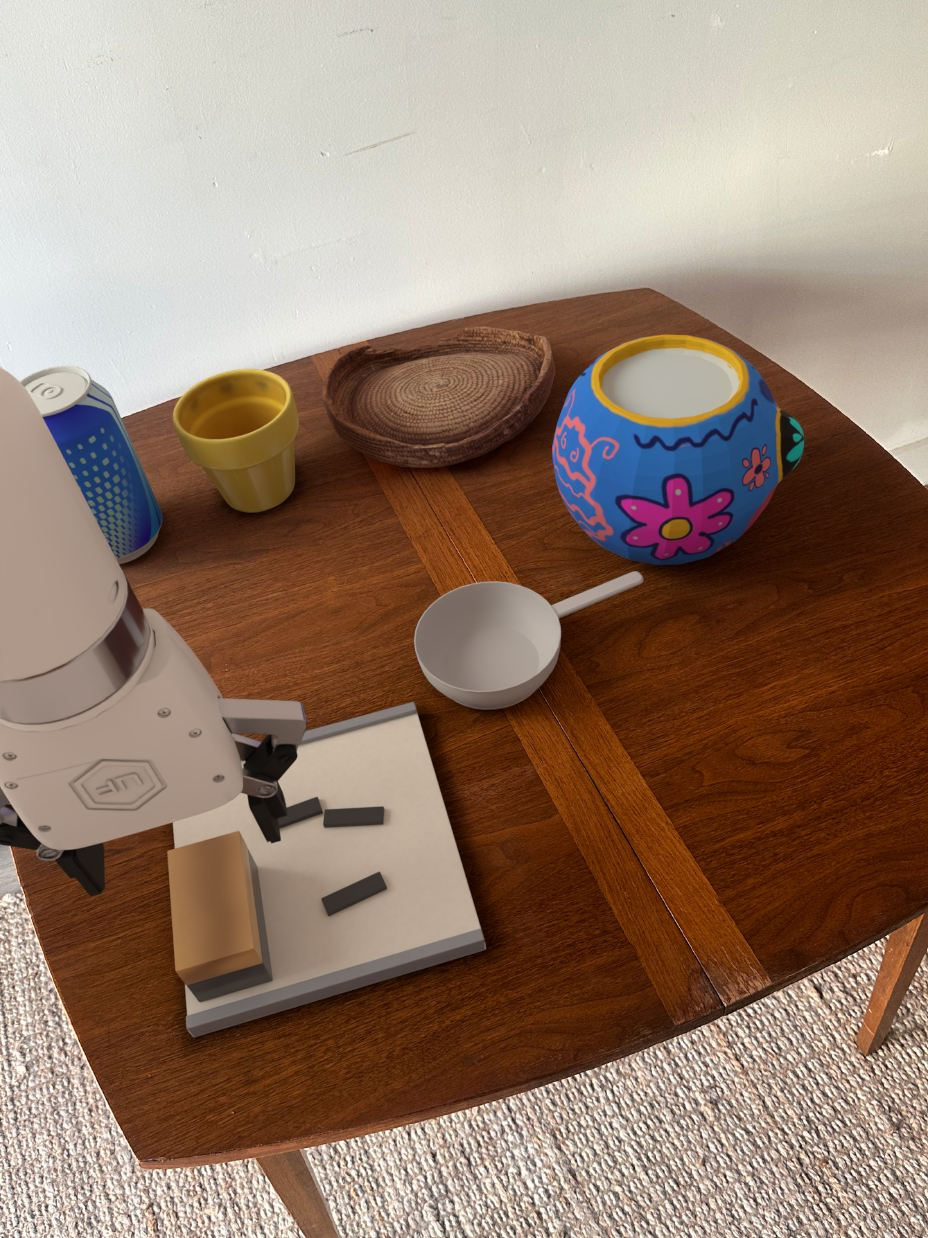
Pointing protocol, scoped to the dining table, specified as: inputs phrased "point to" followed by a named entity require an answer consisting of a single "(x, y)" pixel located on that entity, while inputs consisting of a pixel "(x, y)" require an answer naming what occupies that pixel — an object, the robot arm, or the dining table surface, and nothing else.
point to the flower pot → (242, 435)
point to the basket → (439, 396)
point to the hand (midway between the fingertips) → (185, 846)
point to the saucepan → (497, 639)
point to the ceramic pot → (671, 448)
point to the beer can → (98, 457)
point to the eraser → (218, 917)
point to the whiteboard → (348, 871)
